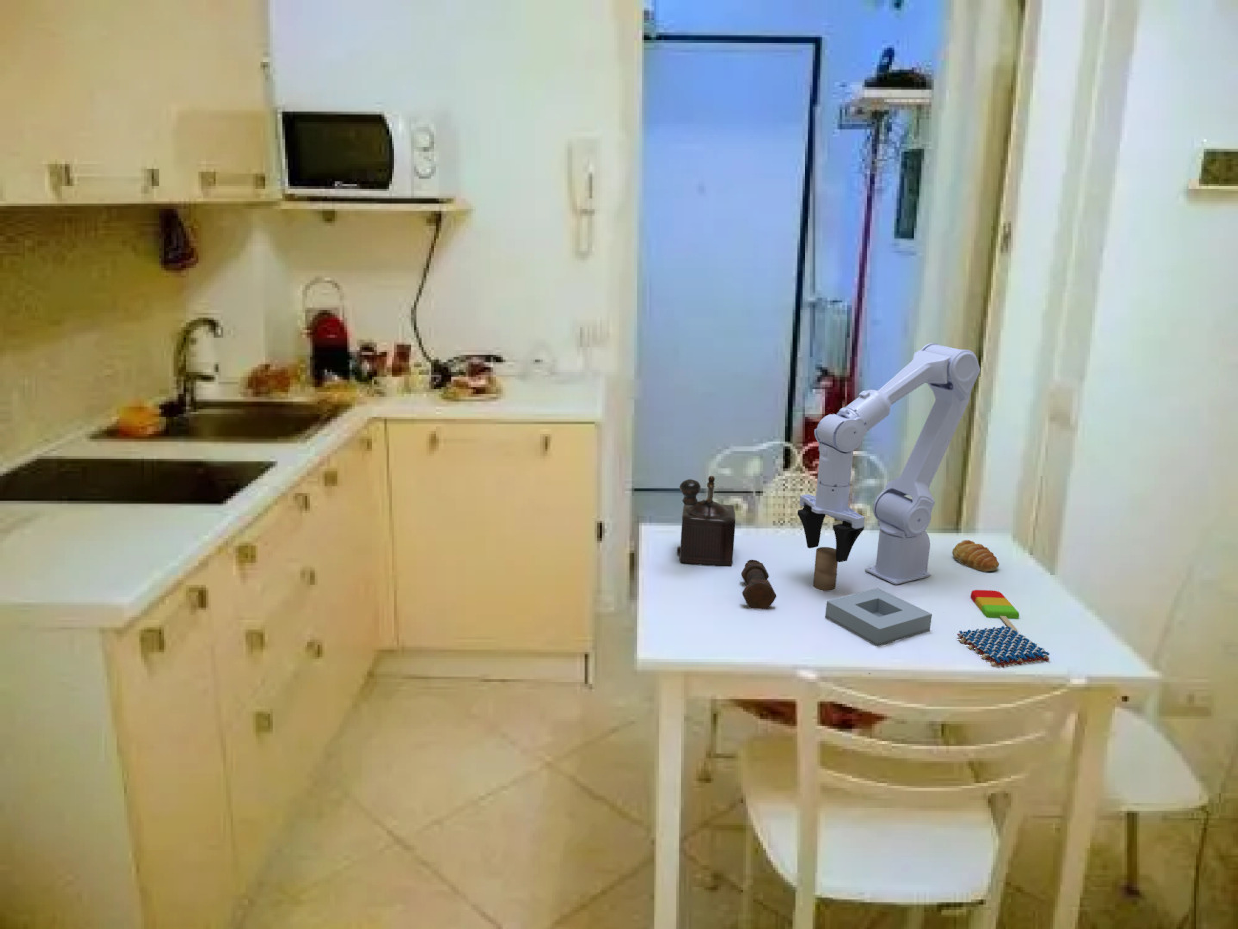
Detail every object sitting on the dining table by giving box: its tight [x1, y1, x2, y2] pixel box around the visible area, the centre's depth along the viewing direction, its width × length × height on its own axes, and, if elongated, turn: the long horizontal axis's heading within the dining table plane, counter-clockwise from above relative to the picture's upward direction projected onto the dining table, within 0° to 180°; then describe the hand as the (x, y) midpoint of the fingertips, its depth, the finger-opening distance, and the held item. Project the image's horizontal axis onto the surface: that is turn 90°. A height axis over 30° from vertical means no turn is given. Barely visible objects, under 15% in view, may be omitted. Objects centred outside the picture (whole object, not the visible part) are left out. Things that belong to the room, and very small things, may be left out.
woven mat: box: [956, 625, 1050, 668], centre depth 144 cm, size 10×11×2 cm
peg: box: [812, 546, 839, 592], centre depth 166 cm, size 4×4×7 cm
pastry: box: [951, 539, 1000, 572], centre depth 179 cm, size 9×7×4 cm
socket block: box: [824, 587, 933, 647], centre depth 152 cm, size 12×12×3 cm
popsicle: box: [970, 589, 1020, 632], centre depth 157 cm, size 6×15×2 cm, turn 177°
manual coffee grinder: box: [676, 475, 736, 567], centre depth 176 cm, size 16×11×18 cm
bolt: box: [740, 559, 777, 610], centre depth 164 cm, size 6×5×15 cm
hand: (826, 553), depth 165 cm, fingers open, 7 cm apart
